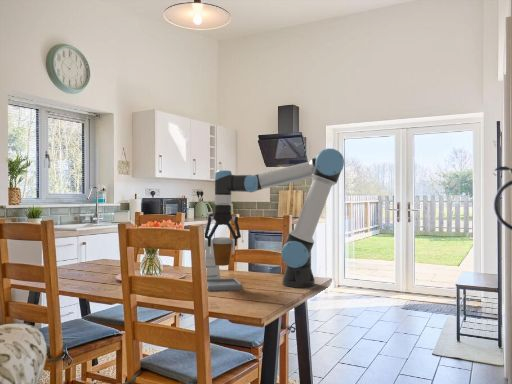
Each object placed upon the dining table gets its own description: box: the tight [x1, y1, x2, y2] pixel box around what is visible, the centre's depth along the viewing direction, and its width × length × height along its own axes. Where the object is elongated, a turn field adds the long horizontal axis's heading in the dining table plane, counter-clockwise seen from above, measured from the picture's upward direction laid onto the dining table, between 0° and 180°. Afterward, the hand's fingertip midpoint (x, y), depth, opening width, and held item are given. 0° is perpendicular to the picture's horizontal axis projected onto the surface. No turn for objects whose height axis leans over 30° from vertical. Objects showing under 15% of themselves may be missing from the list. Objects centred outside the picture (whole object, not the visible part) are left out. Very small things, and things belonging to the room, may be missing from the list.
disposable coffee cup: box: [212, 237, 233, 267], centre depth 200 cm, size 10×10×12 cm
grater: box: [204, 238, 221, 279], centre depth 217 cm, size 10×10×20 cm
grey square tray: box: [207, 277, 243, 292], centre depth 200 cm, size 15×15×2 cm
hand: (222, 253), depth 200 cm, fingers closed on disposable coffee cup, 9 cm apart
